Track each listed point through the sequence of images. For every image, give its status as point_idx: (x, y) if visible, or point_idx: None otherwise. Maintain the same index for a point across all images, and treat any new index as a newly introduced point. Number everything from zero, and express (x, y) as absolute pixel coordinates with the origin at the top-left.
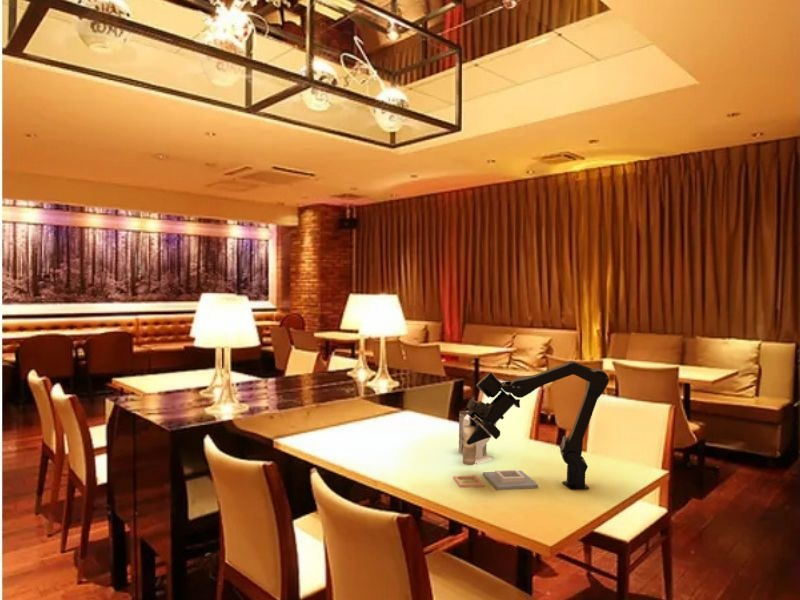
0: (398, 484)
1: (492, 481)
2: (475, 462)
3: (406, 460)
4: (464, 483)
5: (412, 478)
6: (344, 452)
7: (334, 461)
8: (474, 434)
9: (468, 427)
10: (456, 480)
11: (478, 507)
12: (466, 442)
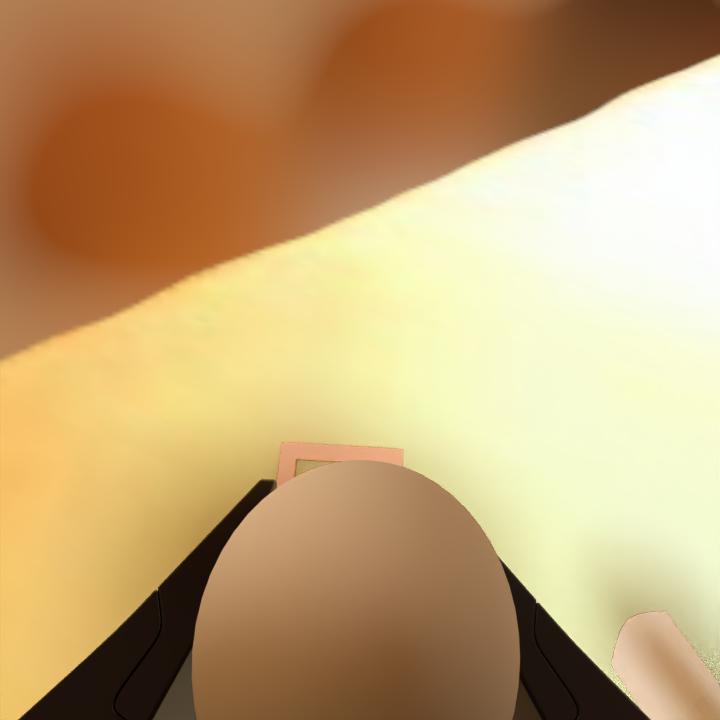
0: (367, 225)
1: None
2: (646, 687)
3: (641, 320)
4: (291, 470)
5: (423, 284)
6: (698, 153)
7: (600, 114)
8: (128, 624)
9: (327, 573)
10: (346, 446)
11: (23, 439)
12: (268, 479)
